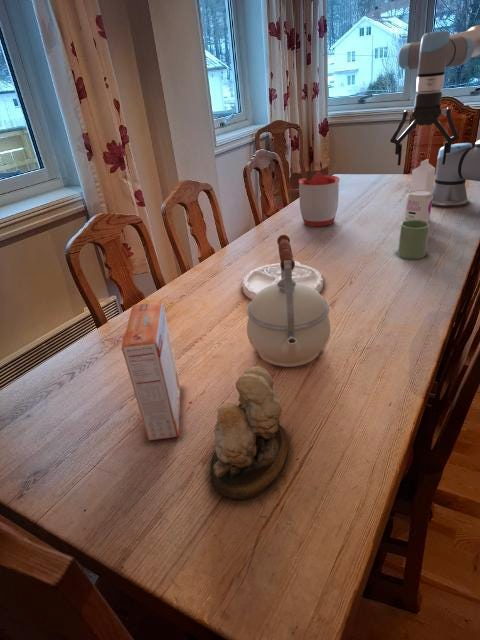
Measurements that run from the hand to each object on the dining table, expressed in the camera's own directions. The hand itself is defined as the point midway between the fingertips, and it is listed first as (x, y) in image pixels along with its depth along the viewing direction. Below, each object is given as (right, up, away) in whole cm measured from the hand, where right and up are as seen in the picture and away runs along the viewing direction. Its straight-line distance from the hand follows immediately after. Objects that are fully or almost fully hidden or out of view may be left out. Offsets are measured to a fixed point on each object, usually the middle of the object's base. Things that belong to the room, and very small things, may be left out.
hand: (420, 164), depth 142 cm
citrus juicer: (-28, -12, +32) cm, 45 cm away
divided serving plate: (-47, -41, -14) cm, 64 cm away
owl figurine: (-58, -75, -70) cm, 118 cm away
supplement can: (+2, -22, +10) cm, 24 cm away
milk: (+9, -13, +25) cm, 29 cm away
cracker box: (-74, -70, -59) cm, 118 cm away
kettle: (-49, -59, -45) cm, 89 cm away
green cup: (-5, -30, -4) cm, 31 cm away
